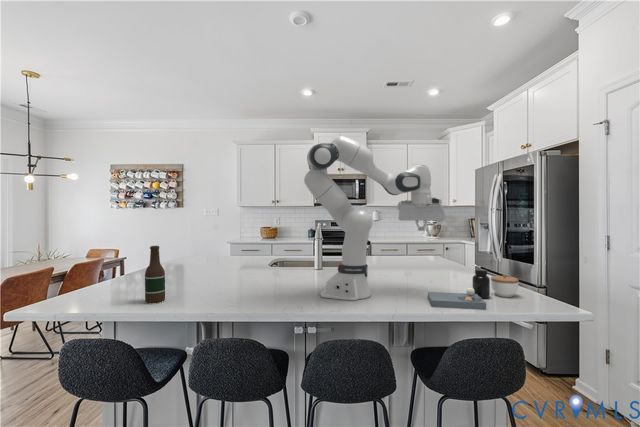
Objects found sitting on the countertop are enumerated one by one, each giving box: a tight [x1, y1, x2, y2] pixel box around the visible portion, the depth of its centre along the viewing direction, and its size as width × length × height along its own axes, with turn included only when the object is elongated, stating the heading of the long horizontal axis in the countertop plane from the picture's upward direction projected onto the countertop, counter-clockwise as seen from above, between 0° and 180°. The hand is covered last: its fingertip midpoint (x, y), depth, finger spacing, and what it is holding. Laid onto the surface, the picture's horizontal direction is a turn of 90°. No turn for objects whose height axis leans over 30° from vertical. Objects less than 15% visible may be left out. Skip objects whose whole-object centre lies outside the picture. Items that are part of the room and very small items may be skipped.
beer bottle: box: [144, 245, 166, 304], centre depth 139 cm, size 8×8×24 cm
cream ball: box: [466, 287, 475, 295], centre depth 136 cm, size 3×3×3 cm
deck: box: [427, 291, 487, 310], centre depth 133 cm, size 20×14×2 cm
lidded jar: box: [490, 273, 520, 298], centre depth 145 cm, size 11×11×9 cm
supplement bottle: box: [472, 268, 491, 300], centre depth 142 cm, size 7×7×12 cm
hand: (421, 230), depth 148 cm, fingers closed
